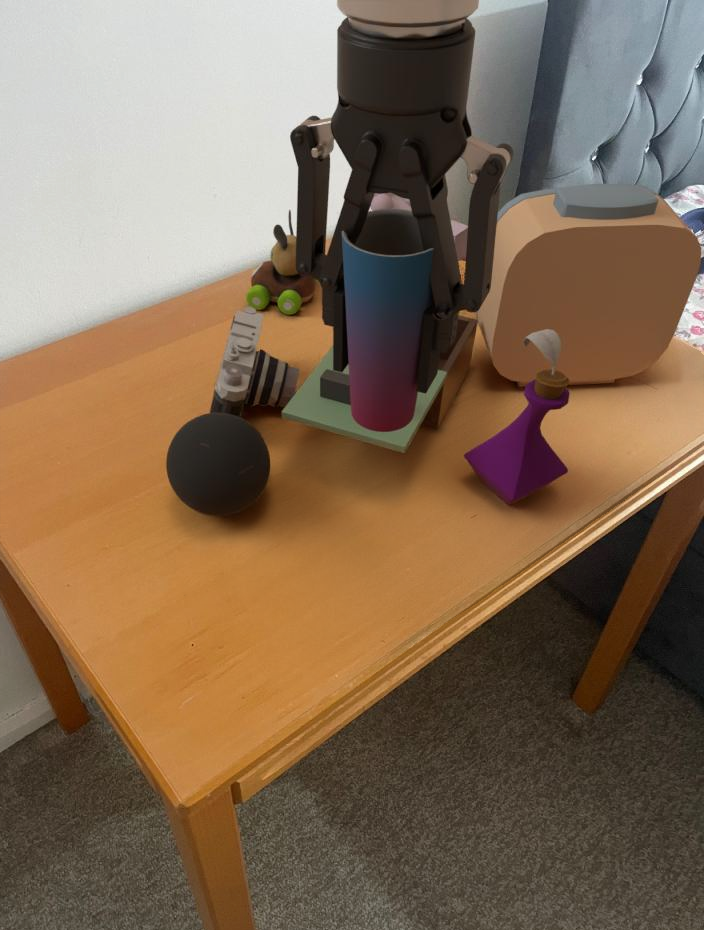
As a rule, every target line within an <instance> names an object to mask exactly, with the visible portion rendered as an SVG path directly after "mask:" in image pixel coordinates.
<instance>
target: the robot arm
mask: <svg viewBox="0 0 704 930" xmlns="http://www.w3.org/2000/svg"><path fill="white" fill-rule="evenodd" d="M479 4H480V0H336V7H337V8H338V10H339V12H340V13H341V14H342V15H343V16H345V18H344V19H343V20H342V21H341V23H340V25H339V26H338V27H337V30H336V32H337V33H336V37H337V38H336V49H337V50H336V90H337V98H338V99H337V105H336V108H335V110H334V112H333V114H332V116H331V117H327V118H322V119H321V118H320V117H319V116H317V115H311V116H309V117H307V118H306V119H305V120H303V121H302V122H301V123H300V124H299V125H297V126H296V127H294V128H293V129H292V130H291V132H290V135H289V139H290V144H291V147H292V151H293V155H294V157H295V161H296V165H297V194H296V195H297V196H296V199H297V200H296V232H295V233H296V235H295V236H296V270H297V272H298V273H299V274H300V275H301V276H304V277H306V276H309V275H310V276H311V277H313V278H315V279H316V282H318V283H319V285H320V287H321V311H322V312H321V319H322V321H323V324H324V326H328V327H332V346H333V370H335V371H338V372H343V371H344V369H345V368H346V366H347V365H348V364H349V361H348V342H347V323H346V305H345V286H344V267H343V249H342V231H344V232H346V233H347V235H348V239H349V241H350V242H351V243H352V244H353V245H354V244H355V242H356V241H357V239H358V237H359V235H360V233H361V231H362V228H363V226H364V223H365V220H366V217H367V214H368V212H369V211H370V210H371V207H370V206H371V203H372V200H373V197H374V195H375V193H377V194H382V193H393V194H395V195H397V196H399V197H401V198H405V199H409V200H410V205H411V210H412V214H413V216H414V217H415V218H416V219H417V222H418V227H419V231H420V236H421V241H422V245H423V250H424V251H426V250H428V249H430V248H434V253H433V259H432V265H431V271H430V277H429V278H430V283H431V288H432V293H433V297H434V302H433V304H432V305H431V307H430V308H429V309H427V310H426V311H425V313H424V318H423V328H422V338H421V348H420V359H419V369H418V379H417V389H416V391H417V392H421V393H425V394H426V393H427V391H428V389H429V387H430V386H431V384H432V382H433V380H434V379H435V377H436V375H437V373H438V364H439V356H440V352H444V353H447V351H448V350H449V348H450V346H451V345H452V343H453V341H454V339H455V338H456V330H457V324H458V316H459V315H460V312H462V311H467V312H468V313H476V312H477V311H478V310H479V309H480V307H481V306H482V304H483V302H484V300H485V299H486V297H487V295H488V293H489V291H490V288H491V279H492V268H493V258H494V247H495V237H496V226H497V216H498V212H499V205H500V194H501V193H500V192H501V184H502V182H503V180H504V178H505V176H506V174H507V171H508V170H509V167H510V165H511V163H512V162H513V161H512V160H513V159H514V149H513V147H512V146H511V145H510V144H509V143H505V142H503V143H499V144H498V145H496V146H493V145H492V144H489V143H488V142H486V141H484V140H481V139H480V138H477V137H475V136H474V135H473V131H472V127H471V123H470V122H469V118H468V113H467V106H468V97H469V91H470V81H471V75H472V65H473V56H474V49H475V39H476V29H475V27H474V26H473V24H472V21H470V20H469V18H470V16H471V15H473V14H474V13H475V12H476V11H477V10H478V9H479ZM335 143H336V144H337V146H338V148H339V150H340V151H341V153H342V154H343V157H344V158H345V160H346V162H347V163H348V165H349V167H350V169H351V172H350V175H349V178H348V181H347V185H346V187H345V190H344V193H343V203H342V207H341V209H340V212H339V216H338V219H337V222H336V225H335V228H334V232H333V235H332V237H331V241H330V243H329V247H328V249H327V254H326V244H327V231H328V230H327V228H328V226H327V225H328V210H329V194H330V193H329V192H330V177H331V175H330V174H331V153H332V152H333V151H334V148H335ZM460 158H461V159H462V160H464V161H465V164H466V168H467V170H466V178H467V180H468V182H469V184H471V185H473V188H472V190H471V194H470V198H469V206H468V220H467V226H468V234H467V248H466V261H465V265H464V266H465V267H464V279H463V281H462V275H461V270H460V264H459V261H458V258H457V253H456V247H455V242H454V236H453V231H452V226H451V220H452V219H451V215H450V209H449V204H448V195H449V190H448V188H449V187H448V183H447V178H446V174H447V173H448V172H449V171H450V170H451V169H452V168H453V166H454V165H455V164H456V163H457V161H458V160H459V159H460ZM450 219H451V220H450Z"/></svg>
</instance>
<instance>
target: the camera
mask: <svg viewBox="0 0 704 930" xmlns="http://www.w3.org/2000/svg"><path fill="white" fill-rule="evenodd" d="M264 316H265V314H264V313H260V312H257V310H256V309H254V308H253V307H250V305H248V306H245V307H244V308H243V311H241V310H236V311H235V315H234V316H233V317H232V320H231V324H230V327H229V332H228V335H227V340H226V343H225V347H224V351H223V355H222V358H221V363H220V366H219V371H218V374H217V377H216V382H215V384H214V390H213V396H212V400H211V405H210V410H209V413H227V414H232V415H235V416H238V417H240V418H242V414H243V412H244V410H245V407H244V404H246V406H249V407H253V406H256V405H258V406H262V407H267V406H268V405H269V406H272V407H274V408H278V407H281V408H285V407H286V405H287V404H288V403H289V402H290V400H291V399H292V398H293V396H294V395H295V394H296V389H297V385H298V381H299V375H300V368H299V367H297V366H296V367H295V366H291V365H289V363H288V362H286V361H282V360H279V359H278V358H276V357H274V356H272V355H271V354H270V353H269V352H267V351H265V350H264V349H261V348H260V349H259V350H257V349H258V344H259V340H260V335H261V330H262V325H263V321H264Z"/></svg>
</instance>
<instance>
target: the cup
mask: <svg viewBox="0 0 704 930" xmlns="http://www.w3.org/2000/svg"><path fill="white" fill-rule="evenodd" d="M342 249H343V267H344V286H345V305H346V323H347V342H348V361H349V380H350V398H351V413H352V417H353V419H354V420H355V421H356V422H357V423H358V424H359V425H360V426H362V427H364V428H366V429H369V430H372V431H377V432H391V431H396V430H399V429H402V428H403V427H405V426H407V425H408V424H409V423H410V422H411V421H412V419H413V417H414V412H415V406H416V401H417V395H418V392H417V391H416V389H417V379H418V369H419V359H420V348H421V338H422V328H423V318H424V313H425V311H426V310H427V309H429V308H430V307H431V305H432V304H433V302H434V297H433V293H432V288H431V283H430V278H429V277H430V271H431V265H432V259H433V253H434V248H430V249H428V250H426V251H424V250H423V245H422V241H421V236H420V231H419V227H418V222H417V219H416V218H415V217H414V216H413V214H412V211H410V210H403V209H381V210H373V211H371V210H369V211H368V214H367V217H366V220H365V223H364V226H363V228H362V231H361V233H360V235H359V237H358V239H357V241H356V242H355V244H354V245H353V244H352V243H351V242H350V241H349V239H348V235H347V233H346V232H344V231H342Z"/></svg>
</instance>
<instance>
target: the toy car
mask: <svg viewBox="0 0 704 930" xmlns="http://www.w3.org/2000/svg"><path fill="white" fill-rule="evenodd" d="M287 215H288V228H289V234H286V232H285V230H284V229H283V227H282V226H281V224H279V223H278V224H276V225H274V227H273V230H272V234H273V237H274V238H275V240H276V242H275V244H274V246H272V247H271V250H270V253H269V254H270V255H269V256H270V257H269V258H270V260H266V261H263V262H261V263H259V264H258V265H257V266H256V267H255V268H254V270H253V272H252V274H251V280H250V282H251V283H250V285H251V287H250V288H249V290H248V291H247V293H246V296H245V299H246V303H247V305H248V306H250V307H253V308H254V309H256V311H262V310H264V309H265V308H267V306H268V305H269V304H270V302H273V303H277V307H278V309H279V310H280V312H281V313H283V314H284V315H287V316H292V315H295V314H296V313H297V312H298V311H299V310H300V308H301V306H302V303H306V302H308V301H310V299H311V298H313V296H314V294H315V287H316V286H315V283H316V282H317V280H316V279H315V278H313V277H311V276H310V275H309V276H306V277H304V276H301V275H300V274H299V273H298V272H297V270H296V235H295V234H294V229H293V225H292V211H291V209H289V210H288V214H287Z"/></svg>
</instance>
